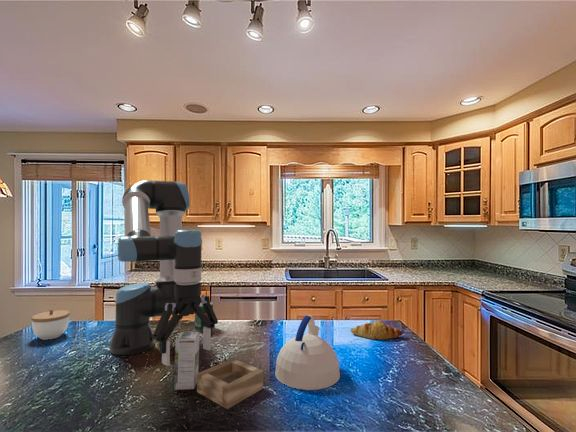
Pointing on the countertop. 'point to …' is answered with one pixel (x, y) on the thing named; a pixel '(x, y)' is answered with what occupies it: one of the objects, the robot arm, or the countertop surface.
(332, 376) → the kettle
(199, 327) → the canned tomato
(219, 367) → the socket block
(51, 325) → the lidded bowl
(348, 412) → the countertop surface
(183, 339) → the syrup box
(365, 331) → the croissant
